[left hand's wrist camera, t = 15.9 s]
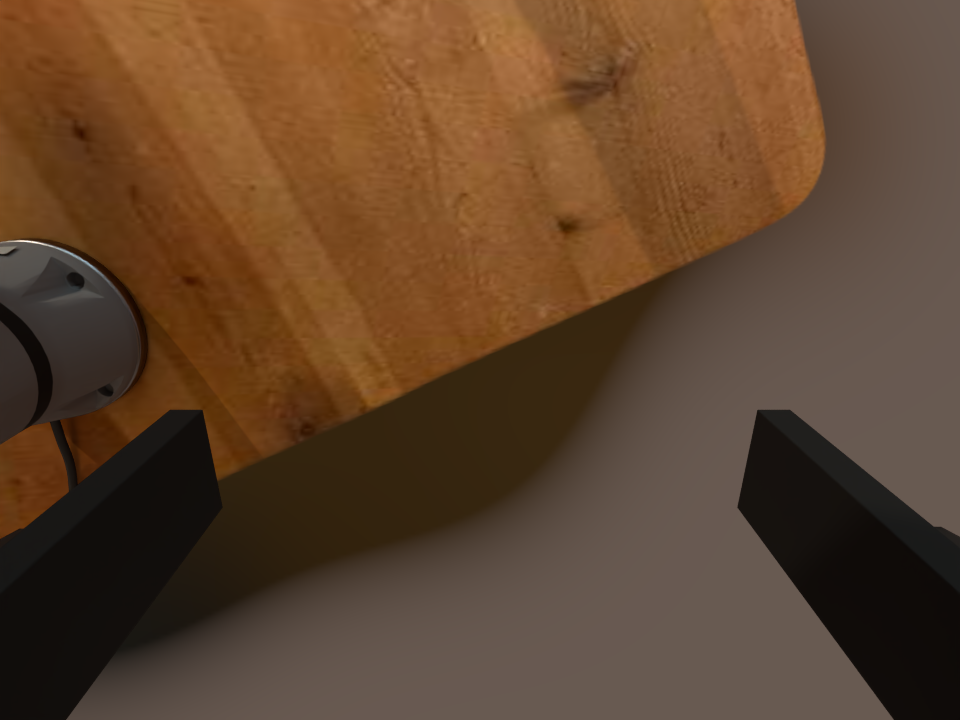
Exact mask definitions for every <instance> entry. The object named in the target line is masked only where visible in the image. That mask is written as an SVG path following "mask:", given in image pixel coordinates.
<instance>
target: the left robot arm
mask: <svg viewBox="0 0 960 720" xmlns="http://www.w3.org/2000/svg"><path fill="white" fill-rule="evenodd" d="M146 356H147V336H146V330H145V326H144V323H143V319H142V317H141V314H140V311H139V309H138V307H137V305H136V303H135V302H134V300H133V298H132V297H131V295H130V294H129V292H128V291H127V290H126V288H125V287H124V286H123V284H122V283H121V282H120V281H119V280H118V279H117V278H116V277H115V276H114V275H113V274H112V273H111V272H110V271H109V270H108V269H107V268H106V267H104V266H103V265H102V264H100V263H99V262H98V261H96V260H95V259H93V258H92V257H90V256H89V255H87V254H85V253H83V252H81V251H79V250H77V249H75V248H73V247H70V246H68V245H65V244H62V243H59V242H55V241H51V240H45V239H35V238H26V239H16V240H10V241H4V242H0V444H2V443H3V442H5V441H7V440H8V439H10V438H11V437H13V436H15V435H16V434H18V433H19V432H21V431H23V430H24V429H26V428H28V427H30V426H32V425H36V424H41V423H46V422H50V423H51V426H52V430H53V433H54V436H55V438H56V441H57V444H58V447H59V449H60V451H61V454H62V456H63V459H64V462H65V465H66V470H67V475H68V484H69V492H68V493H67V494H66V495H65V496H63V497H62V498H61V499H60V500H59V501H57V502H56V503H55V504H54V505H52V506H51V507H50V508H49V509H47V510H46V511H45V512H44V513H43V514H41V515H40V516H39V517H38V518H36V519H35V520H34V521H33V522H31V523H30V524H29V525H28V526H27V527H25V528H24V529H18V530H16V531H14V532H13V533H11V534H9V535H7V536H5V537H3V538H1V539H0V720H66V719H67V718H68V716H69V715H70V714H71V712H72V711H73V710H74V708H75V707H76V705H77V704H78V703H79V701H80V700H81V699H82V697H83V696H84V695H85V693H86V692H87V691H88V689H89V688H90V686H91V685H92V684H93V682H94V681H95V680H96V678H97V677H98V676H99V674H100V673H101V672H102V670H103V669H104V668H105V666H106V665H107V663H108V662H109V661H110V659H111V658H112V657H113V655H114V654H115V653H116V651H117V650H118V649H119V647H120V646H121V644H122V643H123V642H124V640H125V639H126V638H127V636H128V635H129V634H130V632H131V631H132V630H133V628H134V627H135V625H136V624H137V623H138V621H139V620H140V619H141V617H142V616H143V615H144V613H145V612H146V610H147V609H148V608H149V606H150V605H151V604H152V602H153V601H154V600H155V598H156V597H157V596H158V594H159V593H160V591H161V590H162V589H163V587H164V586H165V585H166V583H167V582H168V581H169V579H170V578H171V577H172V575H173V574H174V572H175V571H176V570H177V569H178V567H179V566H180V564H181V563H182V562H183V560H184V559H185V558H186V556H187V555H188V553H189V552H190V551H191V549H192V548H193V547H194V545H195V544H196V543H197V541H198V540H199V539H200V537H201V536H202V535H203V533H204V532H205V530H206V529H207V528H208V526H209V525H210V524H211V522H212V521H213V520H214V518H215V517H216V516H217V514H218V513H219V512H220V510H221V509H222V502H221V497H220V493H219V488H218V483H217V478H216V473H215V468H214V463H213V459H212V454H211V449H210V444H209V439H208V434H207V429H206V425H205V420H204V415H203V410H169V411H168V412H167V413H166V414H164V415H163V416H162V417H161V418H159V419H158V420H157V421H156V422H155V423H153V424H152V425H151V426H150V427H148V428H147V429H146V430H145V431H143V432H142V433H141V434H140V435H139V436H137V437H136V438H135V439H134V440H132V441H131V442H130V443H129V444H127V445H126V446H125V447H124V448H123V449H121V450H120V451H119V452H118V453H116V454H115V455H114V456H113V457H111V458H110V459H109V460H108V461H107V462H105V463H104V464H103V465H102V466H100V467H99V468H98V469H97V470H95V471H94V472H93V473H92V474H91V475H89V476H88V477H87V478H86V479H84V480H83V481H82V482H81V483H79V484H77V474H76V468H75V463H74V459H73V456H72V453H71V450H70V448H69V446H68V443H67V440H66V438H65V435H64V431H63V428H62V425H61V422H60V420H61V419H66V418H70V417H75V416H80V415H84V414H88V413H91V412H93V411H96V410H98V409H100V408H103V407H105V406H107V405H109V404H110V403H112V402H114V401H115V400H117V399H118V398H120V397H121V396H123V395H124V394H125V393H126V392H128V391H129V390H130V389H131V388H132V387H133V386H134V384H135V383H136V382H137V380H138V379H139V377H140V375H141V373H142V371H143V368H144V365H145V361H146ZM738 509H739V510H740V511H741V513H742V514H743V516H744V517H745V518H746V520H747V521H748V522H749V524H750V525H751V526H752V528H753V529H754V531H755V532H756V533H757V535H758V536H759V537H760V539H761V540H762V541H763V543H764V544H765V545H766V547H767V548H768V550H769V551H770V552H771V554H772V555H773V556H774V558H775V559H776V560H777V562H778V563H779V564H780V566H781V567H782V568H783V570H784V571H785V572H786V574H787V575H788V577H789V578H790V579H791V581H792V582H793V583H794V585H795V586H796V587H797V589H798V590H799V592H800V593H801V594H802V596H803V597H804V598H805V600H806V601H807V602H808V604H809V605H810V606H811V608H812V609H813V611H814V612H815V613H816V615H817V616H818V617H819V619H820V620H821V621H822V623H823V624H824V625H825V627H826V628H827V630H828V631H829V632H830V634H831V635H832V636H833V638H834V639H835V640H836V642H837V643H838V644H839V646H840V647H841V649H842V650H843V651H844V653H845V654H846V655H847V657H848V658H849V659H850V661H851V662H852V663H853V665H854V666H855V668H856V669H857V670H858V672H859V673H860V674H861V676H862V677H863V678H864V680H865V681H866V682H867V684H868V685H869V687H870V688H871V689H872V691H873V692H874V693H875V695H876V696H877V697H878V699H879V700H880V701H881V703H882V704H883V706H884V707H885V708H886V710H887V711H888V712H889V714H890V715H891V716H892V718H893V719H894V720H960V537H959V536H957V535H955V534H953V533H952V532H950V531H948V530H946V529H944V528H942V527H933V526H932V525H931V524H930V523H929V522H927V521H926V520H925V519H924V518H922V517H921V516H920V515H919V514H917V513H916V512H915V511H914V510H912V509H911V508H910V507H909V506H908V505H906V504H905V503H904V502H903V501H901V500H900V499H899V498H898V497H897V496H895V495H894V494H893V493H892V492H890V491H889V490H888V489H887V488H885V487H884V486H883V485H882V484H881V483H879V482H878V481H877V480H876V479H874V478H873V477H872V476H871V475H869V474H868V473H867V472H866V471H865V470H863V469H862V468H861V467H860V466H858V465H857V464H856V463H855V462H853V461H852V460H851V459H850V458H849V457H847V456H846V455H845V454H844V453H842V452H841V451H840V450H839V449H837V448H836V447H835V446H834V445H832V444H831V443H830V442H829V441H828V440H826V439H825V438H824V437H823V436H821V435H820V434H819V433H818V432H817V431H815V430H814V429H813V428H812V427H810V426H809V425H808V424H807V423H805V422H804V421H803V420H802V419H801V418H799V417H798V416H797V415H796V414H794V413H793V412H792V411H791V410H757V415H756V420H755V425H754V429H753V434H752V439H751V444H750V449H749V454H748V459H747V463H746V468H745V473H744V478H743V483H742V488H741V493H740V497H739V502H738Z"/></svg>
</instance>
